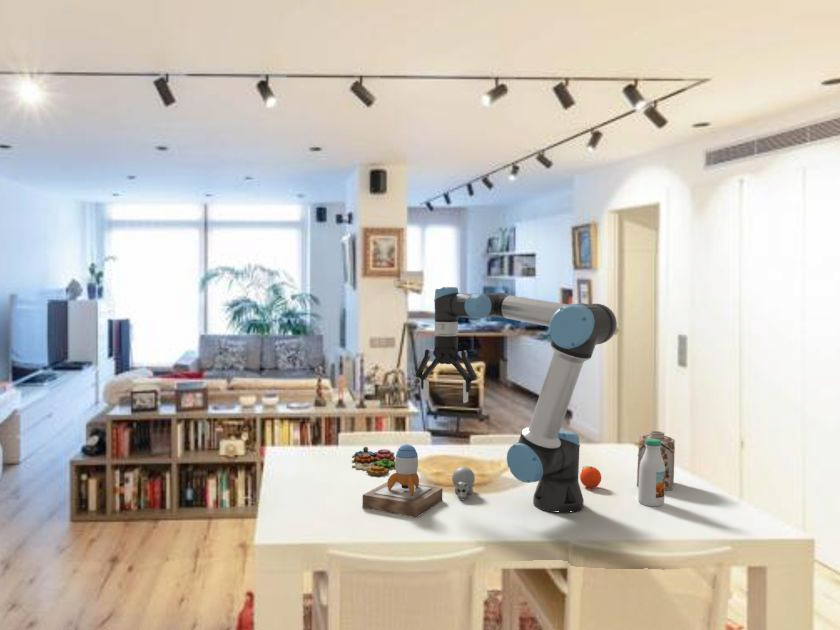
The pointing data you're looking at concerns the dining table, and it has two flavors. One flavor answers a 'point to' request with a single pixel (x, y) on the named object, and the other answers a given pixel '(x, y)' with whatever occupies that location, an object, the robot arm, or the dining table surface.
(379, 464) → the gear puzzle
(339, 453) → the dining table surface
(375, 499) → the plinth
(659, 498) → the milk bottle
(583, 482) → the clementine
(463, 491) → the round bodied animal figurine
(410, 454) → the toy rocket
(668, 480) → the decorative jar
